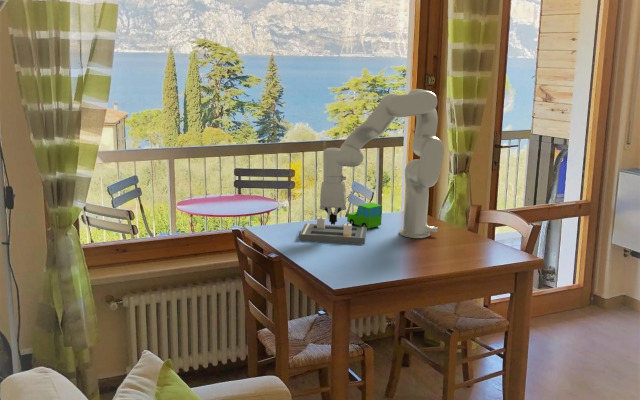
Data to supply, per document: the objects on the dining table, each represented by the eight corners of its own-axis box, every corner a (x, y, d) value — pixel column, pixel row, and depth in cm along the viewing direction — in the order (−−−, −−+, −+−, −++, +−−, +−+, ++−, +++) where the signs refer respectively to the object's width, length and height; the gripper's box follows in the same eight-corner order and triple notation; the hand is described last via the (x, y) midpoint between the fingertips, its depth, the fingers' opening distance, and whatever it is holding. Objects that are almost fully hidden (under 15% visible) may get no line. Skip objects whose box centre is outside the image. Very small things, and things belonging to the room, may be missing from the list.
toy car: (360, 220, 286) (361, 199, 284) (382, 227, 277) (383, 204, 274) (344, 224, 279) (345, 202, 277) (366, 231, 270) (367, 208, 268)
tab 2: (351, 236, 257) (351, 223, 256) (350, 238, 254) (351, 225, 253) (343, 235, 258) (344, 223, 256) (343, 238, 255) (343, 225, 253)
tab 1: (324, 229, 266) (325, 216, 265) (324, 231, 263) (324, 218, 262) (317, 228, 267) (318, 216, 265) (316, 230, 264) (317, 218, 263)
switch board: (366, 232, 267) (366, 226, 266) (364, 244, 252) (364, 237, 251) (305, 229, 270) (305, 223, 269) (299, 240, 255) (299, 233, 254)
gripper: (352, 177, 255) (352, 221, 259) (315, 176, 257) (315, 220, 261) (351, 181, 248) (350, 226, 252) (313, 180, 249) (313, 225, 254)
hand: (333, 223), depth 256 cm, fingers closed
